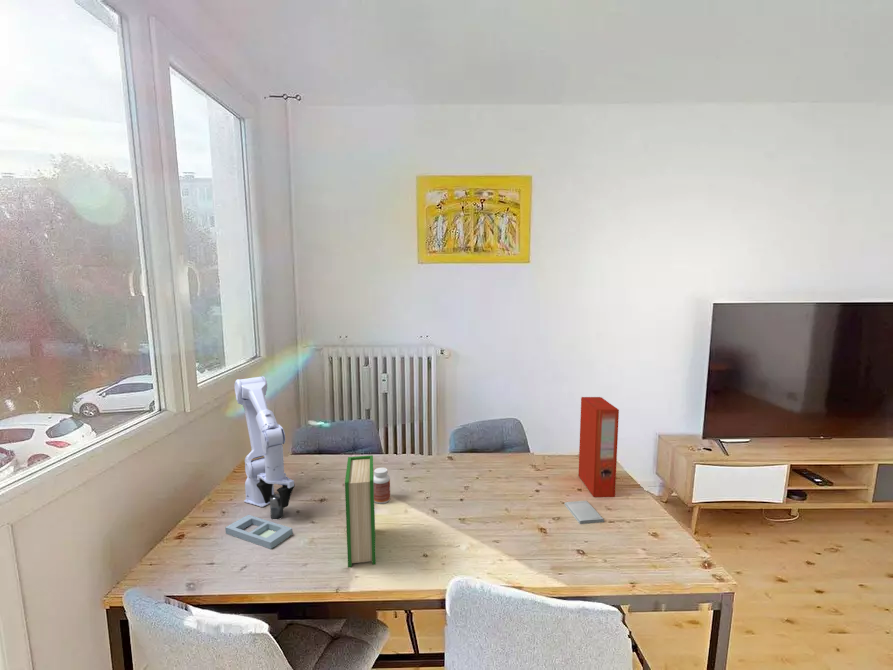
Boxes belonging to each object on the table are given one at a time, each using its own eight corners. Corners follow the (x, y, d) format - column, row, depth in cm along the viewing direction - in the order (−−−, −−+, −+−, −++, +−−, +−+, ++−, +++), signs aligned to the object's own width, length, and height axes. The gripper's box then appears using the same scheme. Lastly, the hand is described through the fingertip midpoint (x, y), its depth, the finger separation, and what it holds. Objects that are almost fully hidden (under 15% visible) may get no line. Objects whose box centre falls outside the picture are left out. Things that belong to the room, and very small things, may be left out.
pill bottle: (393, 501, 156) (392, 471, 155) (377, 506, 153) (376, 475, 151) (385, 494, 161) (385, 465, 160) (370, 498, 158) (369, 469, 156)
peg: (268, 518, 145) (266, 497, 145) (277, 512, 149) (276, 492, 148) (277, 520, 144) (275, 500, 143) (286, 515, 147) (285, 494, 146)
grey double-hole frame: (225, 533, 136) (225, 527, 136) (248, 520, 144) (248, 514, 144) (270, 549, 128) (270, 542, 128) (292, 534, 136) (292, 528, 135)
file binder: (598, 476, 175) (601, 396, 171) (615, 497, 157) (618, 409, 154) (578, 476, 174) (580, 397, 171) (593, 497, 157) (595, 409, 154)
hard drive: (604, 519, 141) (587, 500, 153) (579, 520, 140) (564, 501, 152) (604, 523, 141) (587, 504, 153) (579, 525, 140) (564, 506, 152)
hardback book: (375, 564, 121) (373, 480, 118) (347, 567, 120) (344, 482, 117) (375, 529, 138) (372, 455, 135) (350, 531, 137) (348, 457, 134)
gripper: (300, 463, 145) (302, 503, 146) (268, 456, 151) (270, 494, 152) (283, 471, 138) (285, 513, 140) (250, 464, 145) (253, 503, 146)
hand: (276, 504), depth 146 cm, fingers open, 7 cm apart
